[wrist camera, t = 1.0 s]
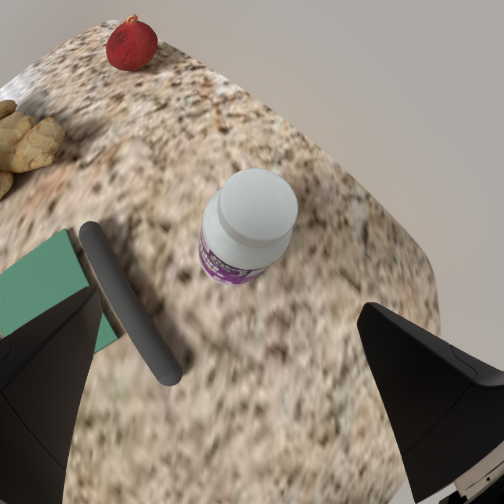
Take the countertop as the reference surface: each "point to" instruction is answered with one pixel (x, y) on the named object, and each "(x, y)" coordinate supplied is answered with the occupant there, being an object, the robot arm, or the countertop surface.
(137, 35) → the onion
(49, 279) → the pad
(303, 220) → the countertop surface
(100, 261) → the dark grey rounded rod
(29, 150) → the ginger root
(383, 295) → the countertop surface
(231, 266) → the pill bottle
